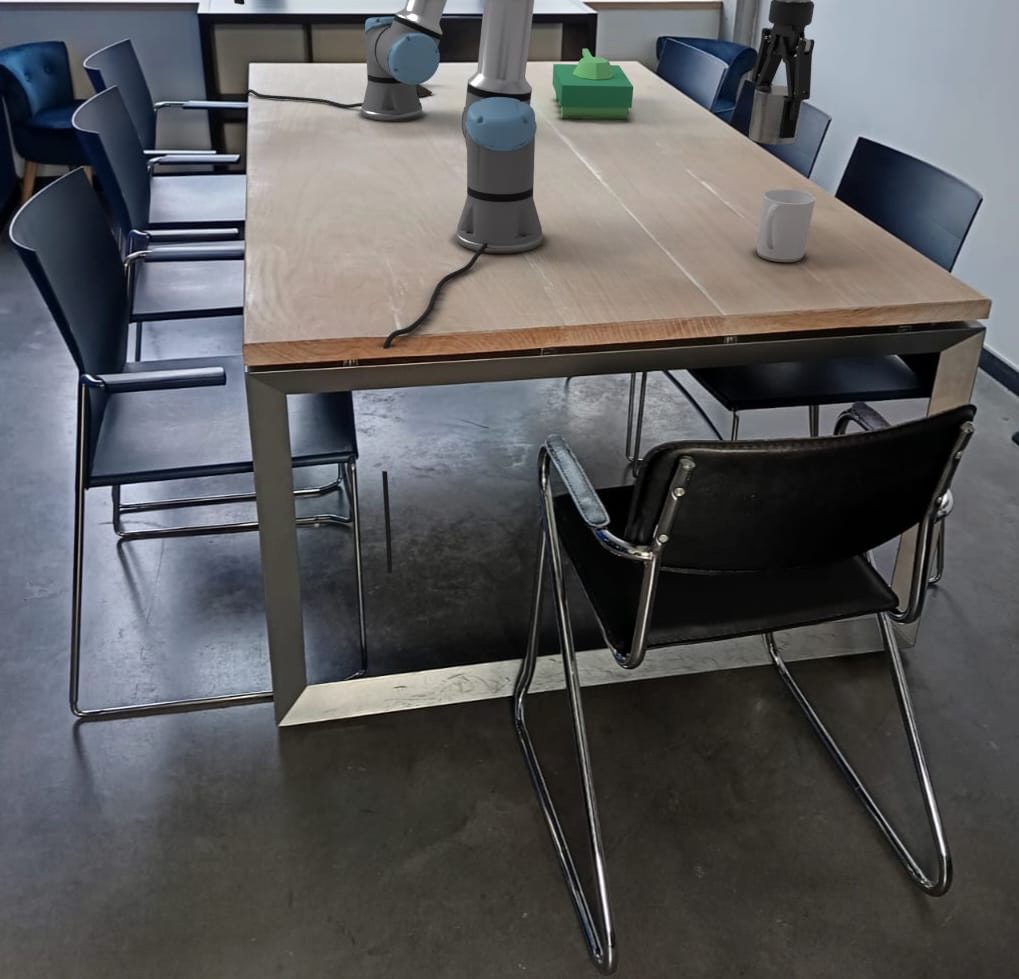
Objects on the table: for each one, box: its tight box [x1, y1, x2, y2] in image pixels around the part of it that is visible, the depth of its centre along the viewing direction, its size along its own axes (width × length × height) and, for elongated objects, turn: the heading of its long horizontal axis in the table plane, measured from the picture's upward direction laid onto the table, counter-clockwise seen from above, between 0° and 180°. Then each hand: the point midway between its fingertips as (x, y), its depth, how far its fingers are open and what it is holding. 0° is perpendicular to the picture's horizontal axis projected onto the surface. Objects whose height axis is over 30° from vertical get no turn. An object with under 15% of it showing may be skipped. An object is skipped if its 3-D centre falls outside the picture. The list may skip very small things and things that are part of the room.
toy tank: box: [552, 48, 634, 120], centre depth 286 cm, size 18×12×35 cm
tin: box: [748, 84, 804, 146], centre depth 201 cm, size 9×9×9 cm
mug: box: [756, 188, 816, 263], centre depth 188 cm, size 11×9×10 cm
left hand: (265, 1), depth 240 cm, fingers open, 13 cm apart
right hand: (773, 131), depth 203 cm, fingers closed on tin, 9 cm apart
